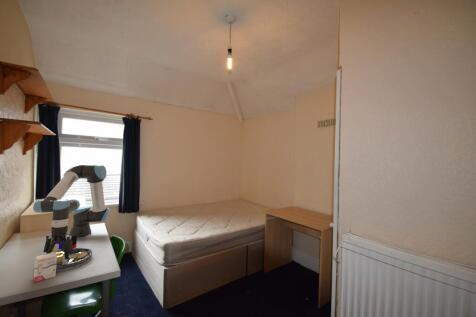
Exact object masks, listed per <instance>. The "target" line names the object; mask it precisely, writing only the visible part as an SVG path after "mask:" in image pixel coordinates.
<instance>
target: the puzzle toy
mask: <svg viewBox="0 0 476 317" xmlns="http://www.w3.org/2000/svg"><path fill="white" fill-rule="evenodd" d="M67 235H69V236H70V235H72V248H77V238H78V237H77V235H74V234H69V233H67ZM66 240H67V239H66ZM51 241H52V240H51ZM62 242H63V241H62ZM66 243H67V242H66ZM60 250H63V248H62V246H61V244H60V242H57V243H56V244H55V246H54V248H53V250H52V252H57V251H60Z"/></svg>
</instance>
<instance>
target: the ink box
mask: <svg viewBox="0 0 476 317" xmlns="http://www.w3.org/2000/svg"><path fill="white" fill-rule="evenodd" d="M56 264H57V254H56V253H55V252H54V253H49V254H47V253H45V254H41V255H37V256H35V257H34V267H33V268H34V269H33V276H32V278H33V279H32V280H33V282H34V283H36V282H40V281H44V280H47V279H51V278H54V277H55V278H56V274H57V272H56Z"/></svg>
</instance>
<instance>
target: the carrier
mask: <svg viewBox="0 0 476 317" xmlns="http://www.w3.org/2000/svg"><path fill="white" fill-rule="evenodd" d="M57 252H64V251H63V250H60V251H57ZM57 252H55V253H57ZM53 253H54V252H53ZM92 258H93V251H92V249H90V248H88V247H76V248H73V251H72V252H70V253H69V258H68V259H67V264H64V265H56V273H58V272H66V271H70V270H73V269H77V268H79V267H82V266H83V265H86V264H87V263H89V262H91V260H92ZM85 263H86V264H85Z"/></svg>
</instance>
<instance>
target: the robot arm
mask: <svg viewBox="0 0 476 317" xmlns="http://www.w3.org/2000/svg"><path fill="white" fill-rule="evenodd" d="M106 178H107V169H106V166H104V165H103V164H98V163H96V164H95V163H93V164H91V163H89V164H88V163H80V164H76V165H74V166H72V167H70V168H69V169H67V170H66V171H65V172H64V173H63V177H62V178H61V179H60V181H58V183H57V184H56V185H55V186H54V187H53V189H52V190H50V192H49V193H48V194H47V195H46V197H44V199H41V200H40V199H39V200H37V201H35V202H34V203H33V206H32V209H33V211H34V213H42V214H44V213H45V214H46V213H50V214H51V213H52V216H51V218H52V219H51V231H50V233H51V234H48V235H45V239H46V240H45V242H44V243H45V244H44V247H43V253H45V254H49V253H53V252H52V250H53V248H54V246H55V244H56V243H57V242H60V244H61V246H62V248H63V251H64V254H63V260H62V265H64V264H67V259H68V258H69V253H70V252H72V251H73V248H72V235H70V236H69V235H67V234H74V235H77V238H82V237H83V238H84V237H87V236H89V235H91V234H92V229H91V225H90V223H104V222H107V221H108V220H109V217H110V215H111V214H110V213H111V209H110V208H109V207H108V206H107V205H106V204H105V196H104V186H103V182H104V181H105V179H106ZM79 179H84V180H85V179H86V181H87V183H89V188H90V196H91V201H92V202H91V203H92V206H82V207H80V206H81V203H80V201H79V200H77V199H65V198H63V197H64V195H66V194H67V192H68V190H70V188H71V187H72V186H73V185H74V183H75V182H78V180H79ZM72 212H73V214H72V216H73V217H72V226H71V229H70V231H69V230H68V229H69V221H70V220H69V217H70V216H69V215H70V213H72ZM68 231H69V233H68ZM66 239H67V240H66ZM51 240H52V241H51ZM62 241H63V242H62ZM66 242H67V243H66Z"/></svg>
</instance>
